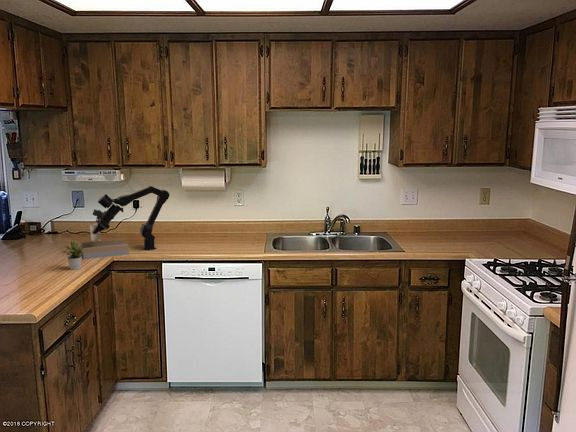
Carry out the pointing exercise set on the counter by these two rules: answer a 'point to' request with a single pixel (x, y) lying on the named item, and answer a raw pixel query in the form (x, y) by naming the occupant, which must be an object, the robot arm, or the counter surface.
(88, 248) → the channel
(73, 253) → the house plant
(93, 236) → the block
